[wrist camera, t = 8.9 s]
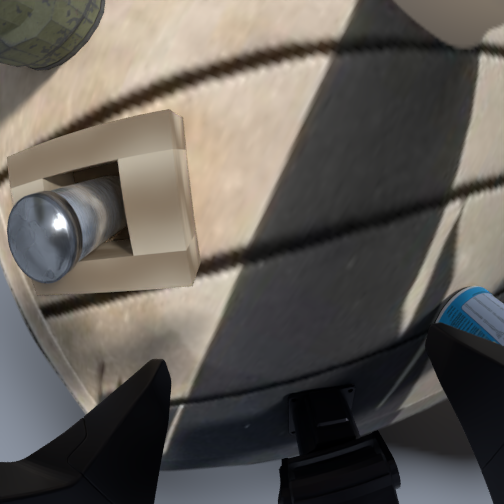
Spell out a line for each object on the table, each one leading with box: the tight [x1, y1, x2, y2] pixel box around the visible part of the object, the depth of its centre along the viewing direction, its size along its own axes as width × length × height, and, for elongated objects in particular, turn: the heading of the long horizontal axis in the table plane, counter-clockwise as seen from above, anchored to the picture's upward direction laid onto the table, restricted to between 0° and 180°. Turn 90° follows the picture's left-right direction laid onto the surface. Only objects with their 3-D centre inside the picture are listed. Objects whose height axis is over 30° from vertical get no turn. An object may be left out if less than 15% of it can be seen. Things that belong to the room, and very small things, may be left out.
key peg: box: [7, 175, 128, 284], centre depth 15 cm, size 4×4×9 cm
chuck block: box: [7, 109, 201, 295], centre depth 17 cm, size 10×12×4 cm
